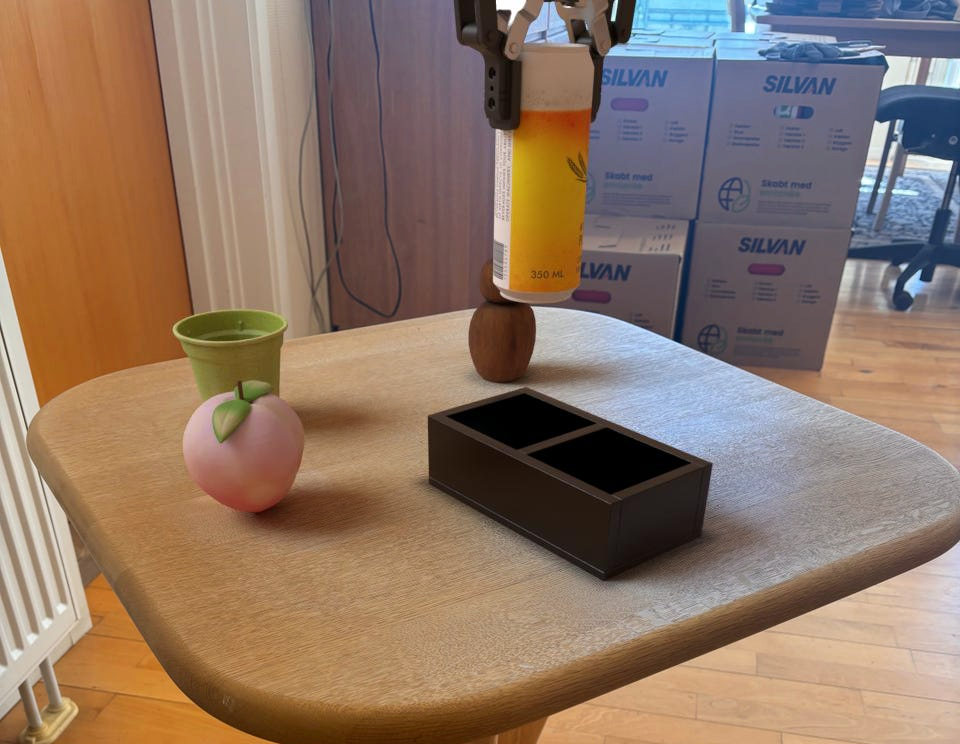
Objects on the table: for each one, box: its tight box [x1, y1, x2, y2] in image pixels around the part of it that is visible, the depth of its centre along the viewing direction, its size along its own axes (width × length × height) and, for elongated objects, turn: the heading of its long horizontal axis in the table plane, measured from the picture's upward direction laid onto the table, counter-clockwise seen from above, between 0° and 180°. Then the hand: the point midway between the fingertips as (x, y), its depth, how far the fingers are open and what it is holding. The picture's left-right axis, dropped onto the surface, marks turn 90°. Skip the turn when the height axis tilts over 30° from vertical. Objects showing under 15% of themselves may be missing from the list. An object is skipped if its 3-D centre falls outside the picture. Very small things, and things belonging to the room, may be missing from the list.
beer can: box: [493, 42, 594, 305], centre depth 64 cm, size 6×6×15 cm
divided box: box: [427, 386, 714, 582], centre depth 71 cm, size 10×19×6 cm, turn 40°
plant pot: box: [172, 308, 289, 404], centre depth 84 cm, size 9×9×9 cm
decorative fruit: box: [182, 380, 306, 513], centre depth 69 cm, size 9×8×10 cm
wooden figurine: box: [467, 258, 537, 383], centre depth 93 cm, size 7×6×15 cm
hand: (543, 124), depth 62 cm, fingers closed on beer can, 6 cm apart
